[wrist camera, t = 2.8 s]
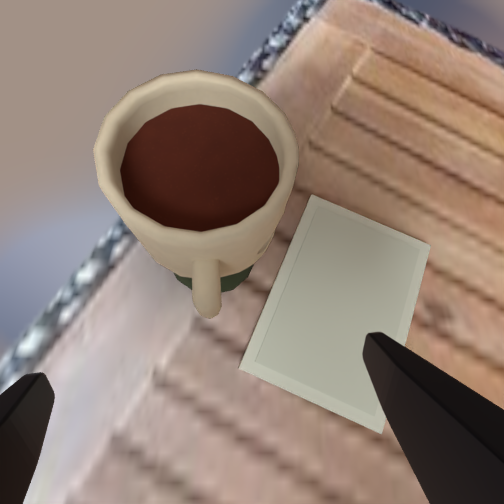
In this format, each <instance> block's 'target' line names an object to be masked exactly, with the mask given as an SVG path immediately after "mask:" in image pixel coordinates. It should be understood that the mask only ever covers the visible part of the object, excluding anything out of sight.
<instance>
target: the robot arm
mask: <svg viewBox="0 0 504 504" xmlns="http://www.w3.org/2000/svg"><path fill="white" fill-rule="evenodd" d="M362 356H363V361H364V363H365V366H366V369H367V371H368V374H369V376H370V379H371V382H372V384H373V387H374V389H375V392H376V395H377V397H378V400H379V402H380V405H381V407H382V410H383V412H384V414H385V416H386V418H387V420H388V422H389V424H390V426H391V428H392V430H393V432H394V434H395V436H396V438H397V440H398V442H399V444H400V446H401V448H402V450H403V452H404V454H405V456H406V458H407V460H408V461H409V463H410V465H411V467H412V469H413V471H414V473H415V475H416V477H417V479H418V481H419V483H420V485H421V487H422V489H423V491H424V493H425V495H426V497H427V499H428V501H429V503H430V504H504V410H503V409H502V408H500V407H499V406H497V405H495V404H494V403H492V402H491V401H489V400H488V399H486V398H484V397H483V396H481V395H480V394H478V393H477V392H475V391H473V390H472V389H470V388H469V387H467V386H466V385H464V384H463V383H461V382H459V381H458V380H456V379H455V378H453V377H452V376H450V375H448V374H447V373H445V372H444V371H442V370H441V369H439V368H438V367H436V366H434V365H433V364H431V363H430V362H428V361H427V360H425V359H423V358H422V357H420V356H419V355H417V354H416V353H414V352H412V351H411V350H409V349H408V348H406V347H405V346H403V345H402V344H400V343H398V342H397V341H395V340H394V339H392V338H391V337H389V336H387V335H386V334H384V333H383V332H371V333H368V334H367V335H366V337H365V342H364V347H363V352H362ZM54 399H55V395H54V391H53V389H52V387H51V385H50V383H49V381H48V379H47V377H46V375H45V374H44V373H41V372H39V373H31V374H26V375H24V376H23V377H21V378H20V379H19V380H18V381H16V382H15V383H14V384H13V385H12V386H10V387H9V388H8V389H7V390H5V391H4V392H3V393H2V394H1V395H0V504H23V501H24V499H25V496H26V493H27V491H28V488H29V485H30V483H31V480H32V477H33V475H34V472H35V469H36V466H37V463H38V460H39V457H40V453H41V450H42V446H43V442H44V438H45V434H46V431H47V427H48V423H49V419H50V416H51V412H52V408H53V404H54Z"/></svg>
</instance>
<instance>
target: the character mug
mask: <svg viewBox="0 0 504 504" xmlns="http://www.w3.org/2000/svg"><path fill="white" fill-rule="evenodd" d="M93 152H94V158H95V164H96V170H97V176H98V182H99V186H100V188H101V189H102V191H103V193H104V194H105V196H106V197H107V198H108V200H109V201H110V203H111V204H112V206H113V207H114V208H115V210H116V211H117V213H118V214H119V215H120V217H121V218H122V220H123V221H124V222H125V224H126V225H127V226H128V228H129V229H130V230H131V231H132V233H133V234H134V235H135V236H136V238H137V239H138V240H139V241H140V242H141V244H142V245H143V246H144V247H145V249H146V250H147V251H148V252H149V254H150V255H151V256H152V257H153V259H154V260H155V261H156V262H157V263H159V264H160V265H162V266H164V267H165V268H167V269H169V270H171V271H172V272H174V274H175V276H176V278H177V280H179V281H180V282H181V283H183V284H184V285H186V286H187V287H188V288H190V289H191V290H192V297H193V303H194V305H195V307H196V309H197V311H198V312H199V314H200V315H201V316H203V317H206V318H208V319H211V318H213V317H215V316H217V315H218V314H219V311H220V309H221V293H222V292H226V291H230V290H233V289H234V288H236V287H237V286H238V285H239V284H240V283H241V282H242V281H244V280H245V279H246V278H247V277H248V275H249V273H250V271H251V269H252V266H253V264H254V263H255V262H256V261H257V260H259V258H260V257H261V256H262V255H263V254H264V253H265V251H266V250H267V248H268V246H269V244H270V242H271V240H272V238H273V236H274V233H275V228H276V226H277V225H278V223H279V221H280V219H281V217H282V216H283V214H284V212H285V207H286V203H287V201H288V199H289V196H290V194H291V191H292V188H293V185H294V181H295V177H296V173H297V169H298V165H299V147H298V143H297V139H296V136H295V132H294V130H293V129H292V127H291V125H290V123H289V121H288V119H287V117H286V115H285V113H284V112H283V111H282V110H281V109H280V108H279V107H278V106H277V105H276V104H275V103H274V102H273V101H272V100H271V99H270V98H269V97H268V96H267V95H266V94H265V93H264V92H262V91H260V90H258V89H256V88H254V87H252V86H251V85H249V84H247V83H245V82H243V81H241V80H239V79H237V78H235V77H233V76H229V75H223V74H218V73H213V72H207V71H202V70H190V71H183V72H176V73H170V74H162V75H159V76H157V77H155V78H153V79H151V80H149V81H147V82H145V83H143V84H141V85H139V86H137V87H135V88H133V89H132V90H129V91H128V92H127V93H126V94H125V95H124V96H123V97H122V99H120V101H119V102H118V103H117V104H116V105H115V106H114V107H113V108H112V109H111V110H110V111H109V112H108V113H107V115H106V116H105V117H104V119H103V122H102V125H101V128H100V131H99V134H98V137H97V140H96V143H95V146H94V149H93Z"/></svg>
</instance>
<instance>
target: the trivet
mask: <svg viewBox="0 0 504 504" xmlns="http://www.w3.org/2000/svg"><path fill="white" fill-rule="evenodd" d="M430 247H431V245H429V244H427V243H424V242H422V241H420V240H417V239H415V238H413V237H410V236H408V235H406V234H403V233H401V232H399V231H396V230H394V229H392V228H389V227H387V226H385V225H382V224H380V223H378V222H376V221H373V220H371V219H369V218H366V217H364V216H362V215H359V214H357V213H355V212H352V211H350V210H348V209H345V208H343V207H341V206H338V205H336V204H334V203H331V202H329V201H327V200H324V199H322V198H320V197H317V196H315V195H313V194H311V196H310V198H309V200H308V202H307V205H306V207H305V210H304V212H303V214H302V217H301V219H300V221H299V224H298V226H297V229H296V231H295V233H294V236H293V238H292V241H291V243H290V245H289V248H288V250H287V252H286V255H285V257H284V260H283V262H282V264H281V267H280V269H279V272H278V274H277V276H276V279H275V281H274V283H273V286H272V288H271V291H270V293H269V295H268V298H267V300H266V303H265V305H264V307H263V310H262V312H261V315H260V317H259V319H258V322H257V324H256V326H255V329H254V331H253V334H252V336H251V338H250V341H249V343H248V346H247V348H246V350H245V353H244V355H243V357H242V360H241V362H240V365H239V367H238V368H239V369H241V370H243V371H245V372H247V373H249V374H252V375H254V376H256V377H258V378H260V379H262V380H265V381H267V382H269V383H271V384H273V385H276V386H278V387H280V388H282V389H284V390H286V391H289V392H291V393H293V394H295V395H297V396H299V397H302V398H304V399H306V400H308V401H310V402H312V403H315V404H317V405H319V406H321V407H323V408H326V409H328V410H330V411H332V412H334V413H336V414H339V415H341V416H343V417H345V418H347V419H349V420H352V421H354V422H356V423H358V424H360V425H363V426H365V427H367V428H369V429H371V430H373V431H376V432H378V433H380V434H382V431H383V428H384V424H385V420H386V416H385V414H384V412H383V410H382V407H381V405H380V402H379V400H378V397H377V395H376V392H375V389H374V387H373V384H372V382H371V379H370V376H369V374H368V371H367V369H366V366H365V363H364V361H363V356H362V352H363V347H364V342H365V337H366V335H367V334H368V333H371V332H383V333H384V334H386V335H387V336H389V337H391V338H392V339H394V340H395V341H397V342H398V343H400V344H402V345H403V346H405V343H406V339H407V335H408V332H409V328H410V324H411V320H412V316H413V312H414V308H415V305H416V301H417V297H418V293H419V289H420V285H421V282H422V278H423V274H424V270H425V266H426V262H427V258H428V255H429V251H430Z"/></svg>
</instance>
